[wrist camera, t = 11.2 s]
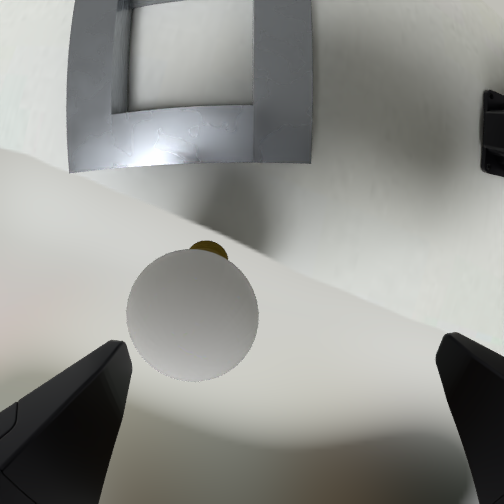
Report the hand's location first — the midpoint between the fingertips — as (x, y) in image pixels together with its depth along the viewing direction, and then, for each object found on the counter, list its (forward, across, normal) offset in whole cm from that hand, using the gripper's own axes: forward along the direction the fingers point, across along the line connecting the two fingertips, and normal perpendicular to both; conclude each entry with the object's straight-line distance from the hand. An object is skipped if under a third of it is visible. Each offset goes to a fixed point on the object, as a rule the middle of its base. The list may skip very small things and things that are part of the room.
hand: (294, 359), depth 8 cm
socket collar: (+12, +5, -11) cm, 17 cm away
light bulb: (+13, +4, +2) cm, 13 cm away
